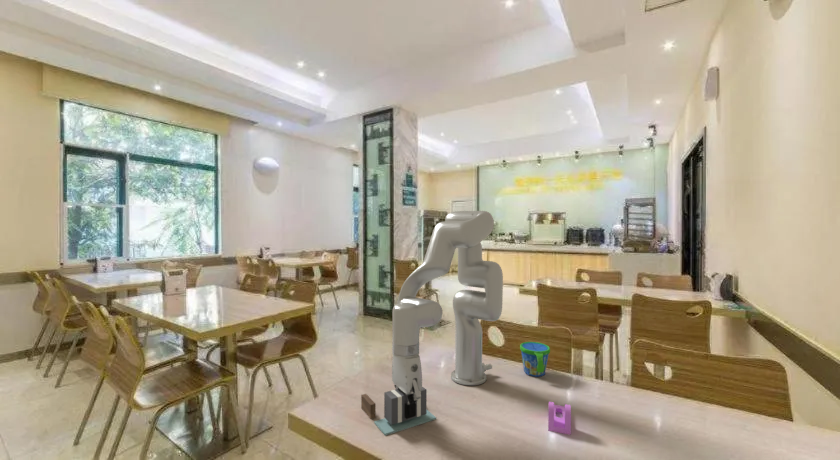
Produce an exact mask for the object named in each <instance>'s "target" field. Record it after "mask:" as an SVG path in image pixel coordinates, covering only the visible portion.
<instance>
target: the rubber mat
mask: <svg viewBox="0 0 840 460" xmlns="http://www.w3.org/2000/svg"><path fill="white" fill-rule="evenodd" d="M435 420H437V417H436V415H434V414H433V413H432V412H430V410H428V409H427V408H426V414H425V415H422V416H419V417H416V418H412V419H409V420H406V421H403V422H400V423H396V424H393V425H391V424H390V423H389V422H388V421H387V420H386V419H385V417H384V418H380V419H376V420H374V421H373V422H374V423H373V424H374V425H375V426H376V427H377V428H378V429H379V430H380V432H381V433H382V435H384V436H388V435H391V434H394V433H397V432H401V431H404V430H406V429H410V428H413V427H416V426H418V425H419V426H420V425H423V424H426V423H428V422H432V421H435Z"/></svg>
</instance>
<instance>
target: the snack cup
mask: <svg viewBox="0 0 840 460" xmlns="http://www.w3.org/2000/svg"><path fill="white" fill-rule="evenodd" d="M519 349H520V351H521V361H522V367H523V371H524V373H525V374H526V375H527V376H531V377H536V378H537V377H543V376H545V375H546V371H547V364H548V358H549V354H550V352H551V348H550V346H549V345H548V344H545V343H542V342H536V341H525V342H522V343H520V344H519Z"/></svg>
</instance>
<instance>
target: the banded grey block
mask: <svg viewBox="0 0 840 460" xmlns="http://www.w3.org/2000/svg"><path fill="white" fill-rule="evenodd" d="M410 391H412V389H411V390H410ZM419 392H420V396H421V398H420V399H418V400H417V403H416V416H414V417H411V418H408V419H406V418H405V404H406V396H405V393H404V392H403V391H402V390H401V389H396V388H395V389H391V390H389V391H388V390H387V391H385V392H384V394H383V395H384V397H383V399H384V400H383V401H384V402H383V403H384V405H383V406H384V407H383V411H384V412H383V414H384V415H383V417H384V418H385V419H386V420H387V421H388V422H389V423H390V424H391V425H393V424H396V423H400V422H403V421H406V420H409V419H412V418H416V417H419V416H422V415H425V414H426V409H427V399H428V398H427V393H428V391H427V388H425V387H424V386H422V391H419ZM412 396H413V394H410V395H409V399H410V397H412Z"/></svg>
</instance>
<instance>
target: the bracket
mask: <svg viewBox="0 0 840 460" xmlns="http://www.w3.org/2000/svg"><path fill="white" fill-rule="evenodd" d="M547 410H548V411H547V412H548V415H547V416H548V418H547V419H548V420H547V421H548V423H547V424H548V425H547V427H548V428H547V429H548V432H554V433H560V434H564V435H565V434H566V435H571V433H572V432H571V429H572V427H571V425H572V424H571V423H572V422H571V421H572V407H571V404H567V403H566V404H564V405H559V404H555V402H553V401H548V409H547ZM556 413H560V414H562V417H559V416H557V414H556Z"/></svg>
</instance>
